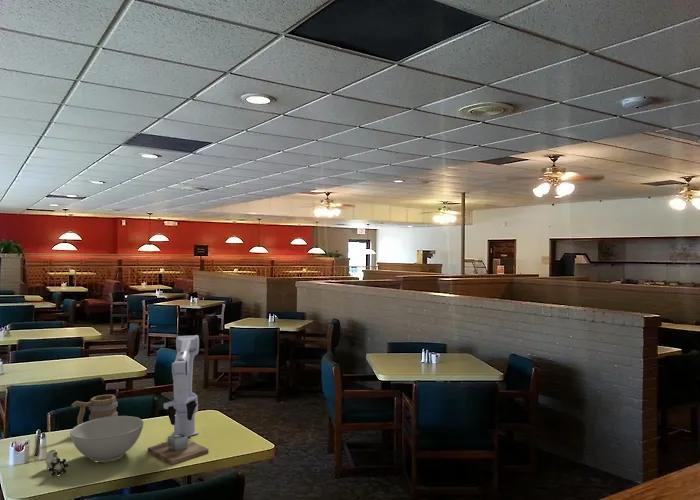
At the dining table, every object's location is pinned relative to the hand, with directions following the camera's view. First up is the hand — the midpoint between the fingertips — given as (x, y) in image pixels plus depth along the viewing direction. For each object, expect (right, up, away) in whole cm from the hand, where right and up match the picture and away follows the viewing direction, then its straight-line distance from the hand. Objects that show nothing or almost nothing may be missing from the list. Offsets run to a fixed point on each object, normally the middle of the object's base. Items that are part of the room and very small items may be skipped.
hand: (181, 422), depth 223 cm
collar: (0, -9, -6) cm, 11 cm away
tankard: (-47, -11, +23) cm, 54 cm away
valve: (-40, -12, -23) cm, 48 cm away
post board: (0, -11, -5) cm, 12 cm away
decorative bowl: (-27, -11, -9) cm, 30 cm away
